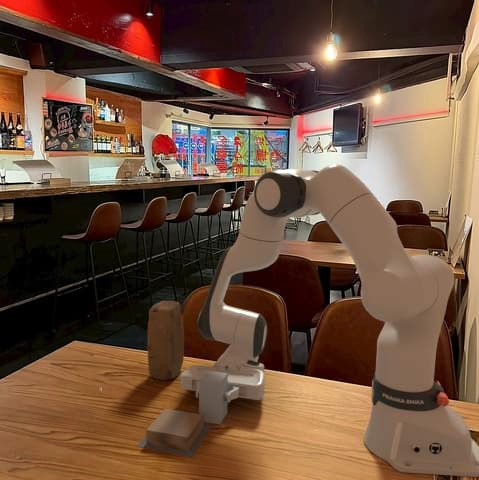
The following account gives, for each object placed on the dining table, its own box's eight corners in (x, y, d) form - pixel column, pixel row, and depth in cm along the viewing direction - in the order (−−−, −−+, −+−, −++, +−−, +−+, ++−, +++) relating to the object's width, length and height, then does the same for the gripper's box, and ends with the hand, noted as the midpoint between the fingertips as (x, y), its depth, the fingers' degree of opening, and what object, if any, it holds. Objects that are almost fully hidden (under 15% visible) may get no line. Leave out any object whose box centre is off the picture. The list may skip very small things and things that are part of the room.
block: (171, 383, 123) (170, 310, 120) (145, 379, 125) (143, 307, 122) (187, 367, 133) (187, 299, 130) (163, 363, 136) (162, 296, 133)
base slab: (203, 427, 102) (203, 414, 101) (187, 451, 93) (187, 437, 93) (165, 421, 104) (165, 408, 104) (146, 443, 96) (146, 429, 95)
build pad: (212, 426, 103) (212, 425, 103) (191, 458, 91) (191, 457, 91) (162, 418, 106) (162, 416, 106) (136, 448, 95) (136, 446, 95)
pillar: (227, 414, 108) (227, 373, 106) (220, 425, 103) (220, 382, 102) (206, 411, 109) (206, 370, 108) (199, 422, 105) (199, 379, 103)
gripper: (191, 355, 120) (169, 377, 107) (270, 364, 115) (256, 390, 101) (192, 378, 121) (169, 403, 108) (269, 389, 115) (255, 417, 102)
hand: (212, 397), depth 105 cm, fingers closed on pillar, 5 cm apart
